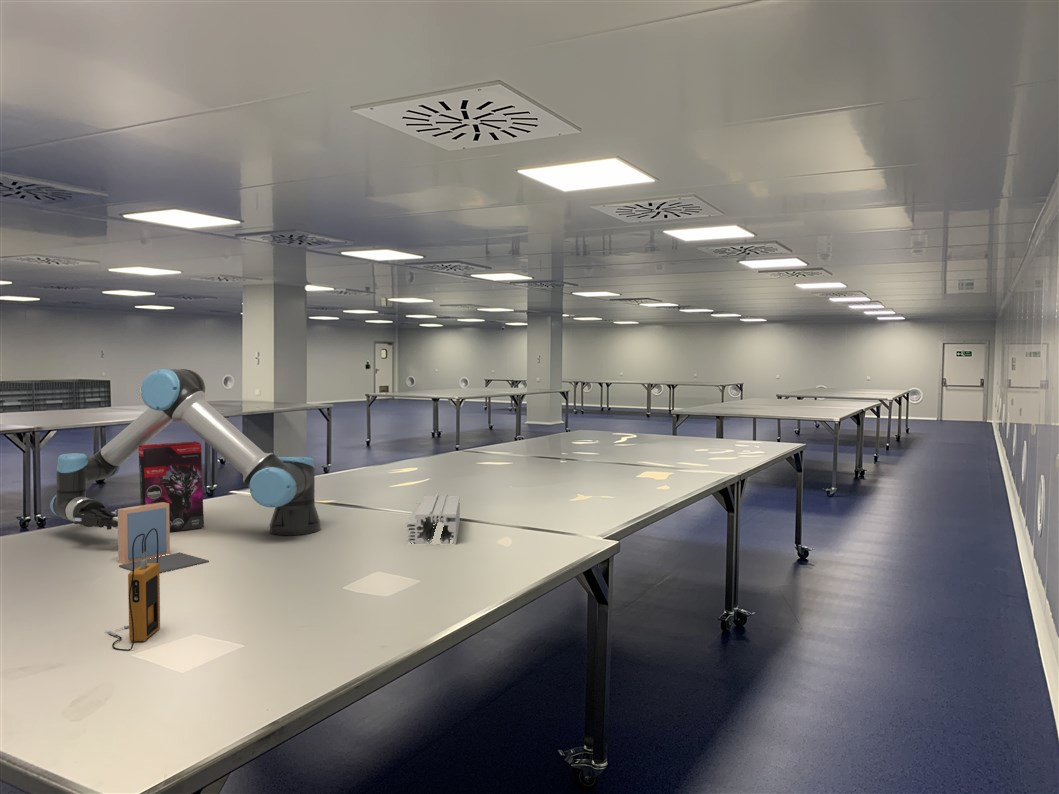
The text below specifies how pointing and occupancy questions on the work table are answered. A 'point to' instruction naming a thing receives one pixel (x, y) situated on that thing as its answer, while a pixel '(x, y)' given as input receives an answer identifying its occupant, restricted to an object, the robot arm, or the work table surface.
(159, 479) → the graphics card box
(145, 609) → the multimeter
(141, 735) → the work table surface
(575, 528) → the work table surface
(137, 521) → the tile
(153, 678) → the work table surface
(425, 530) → the aluminum extrusion profile
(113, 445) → the robot arm
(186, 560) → the mat
